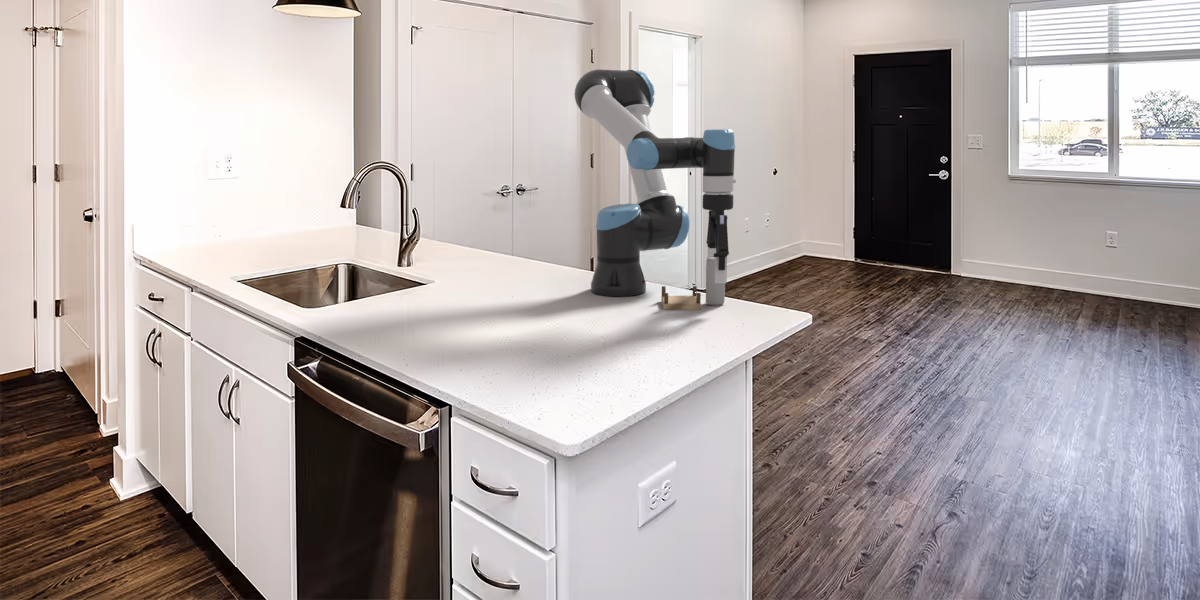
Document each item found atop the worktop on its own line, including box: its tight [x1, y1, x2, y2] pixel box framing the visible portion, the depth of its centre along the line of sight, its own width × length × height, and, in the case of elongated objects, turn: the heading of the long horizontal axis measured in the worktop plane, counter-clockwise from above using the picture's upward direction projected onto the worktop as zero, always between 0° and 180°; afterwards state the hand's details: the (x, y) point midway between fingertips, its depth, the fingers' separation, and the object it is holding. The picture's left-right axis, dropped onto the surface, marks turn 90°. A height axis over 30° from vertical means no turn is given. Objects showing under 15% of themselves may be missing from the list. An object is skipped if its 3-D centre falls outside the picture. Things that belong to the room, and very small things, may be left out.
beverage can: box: [705, 256, 726, 307], centre depth 193 cm, size 5×5×12 cm
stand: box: [660, 285, 702, 311], centre depth 193 cm, size 9×9×4 cm
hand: (716, 278), depth 193 cm, fingers open, 13 cm apart
